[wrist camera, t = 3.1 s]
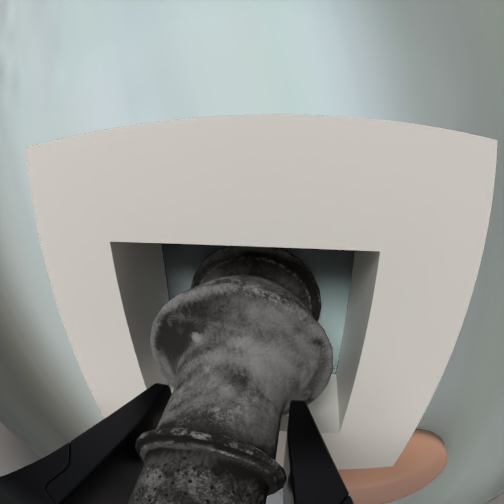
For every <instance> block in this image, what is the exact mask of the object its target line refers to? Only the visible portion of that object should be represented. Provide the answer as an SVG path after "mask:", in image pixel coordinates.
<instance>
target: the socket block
mask: <svg viewBox="0 0 504 504" xmlns="http://www.w3.org/2000/svg"><path fill="white" fill-rule="evenodd" d="M26 152H27V163H28V172H29V181H30V188H31V195H32V202H33V208H34V214H35V219H36V225H37V230H38V235H39V239H40V244H41V248H42V253H43V257H44V261H45V265H46V269H47V272H48V276H49V280H50V283H51V287H52V290H53V294H54V297H55V300H56V303H57V306H58V310H59V313H60V316H61V319H62V321H63V324H64V327H65V330H66V333H67V335H68V338H69V341H70V343H71V346H72V349H73V351H74V354H75V356H76V359H77V361H78V363H79V366H80V368H81V370H82V373H83V375H84V377H85V380H86V382H87V384H88V386H89V388H90V390H91V393H92V395H93V397H94V399H95V401H96V403H97V405H98V407H99V409H100V411H101V413H102V415H103V417H104V419H105V418H106V417H108V416H109V415H111V414H112V413H113V412H115V411H116V410H118V409H119V408H121V407H122V406H124V405H125V404H126V403H128V402H129V401H131V400H132V399H134V398H135V397H136V396H138V395H139V394H141V393H142V392H143V391H145V390H146V389H148V388H149V387H150V386H152V385H153V384H155V383H161V384H166V385H168V386H169V387H170V389H171V393H172V392H173V389H174V388H173V386H172V385H171V384H170V383H169V382H168V381H167V379H166V378H165V377H164V376H163V375H162V373H161V371H160V369H159V367H158V366H157V364H156V362H155V360H154V357H153V354H152V348H151V343H150V336H151V330H152V324H153V322H154V320H155V318H156V317H157V315H158V313H159V312H160V310H161V308H162V307H163V306H164V305H165V304H166V303H167V302H169V294H168V288H167V281H166V274H165V267H164V260H163V252H162V244H161V243H170V244H199V245H228V246H255V247H282V248H308V249H333V250H355V253H354V262H353V271H352V279H351V287H350V294H349V301H348V308H347V315H346V321H345V327H344V333H343V339H342V345H341V350H340V356H339V361H338V366H337V371H336V374H331V377H330V380H329V383H328V385H327V386H326V388H325V389H324V390H323V391H322V393H321V394H320V395H319V396H318V398H316V399H315V400H314V401H312V402H311V403H309V404H308V408H309V410H310V412H311V414H312V416H313V418H314V420H315V423H316V425H317V427H318V429H319V431H320V433H321V435H322V437H323V440H324V442H325V444H326V446H327V448H328V450H329V452H330V454H331V457H332V459H333V461H334V463H335V465H336V467H337V469H338V470H342V469H365V468H379V467H390V466H393V465H394V464H395V462H396V461H397V459H398V457H399V456H400V454H401V453H402V451H403V449H404V448H405V446H406V444H407V443H408V441H409V439H410V438H411V436H412V434H413V432H414V431H415V429H416V427H417V425H418V424H419V422H420V420H421V418H422V416H423V414H424V412H425V410H426V408H427V406H428V404H429V403H430V401H431V398H432V396H433V394H434V392H435V390H436V388H437V386H438V384H439V382H440V379H441V377H442V375H443V373H444V370H445V368H446V366H447V363H448V361H449V358H450V356H451V354H452V351H453V349H454V346H455V343H456V341H457V338H458V335H459V333H460V330H461V327H462V324H463V321H464V318H465V315H466V312H467V309H468V306H469V303H470V299H471V296H472V293H473V289H474V286H475V282H476V278H477V275H478V271H479V267H480V262H481V258H482V254H483V249H484V245H485V240H486V235H487V229H488V224H489V218H490V212H491V205H492V198H493V190H494V181H495V171H496V157H497V140H494V139H490V138H486V137H482V136H477V135H473V134H468V133H463V132H458V131H453V130H448V129H443V128H437V127H431V126H425V125H418V124H411V123H404V122H396V121H388V120H378V119H368V118H357V117H343V116H326V115H295V114H261V115H230V116H212V117H198V118H187V119H176V120H167V121H158V122H150V123H143V124H136V125H129V126H123V127H116V128H111V129H105V130H99V131H94V132H89V133H84V134H79V135H74V136H70V137H65V138H61V139H57V140H53V141H49V142H45V143H41V144H37V145H33V146H30V147H26ZM288 417H289V414H288V415H285V416H282V418H281V422H280V430H279V438H278V446H277V453H276V462H277V463H278V464H279V465H280V466H281V467H283V463H284V454H285V445H286V436H287V426H288Z"/></svg>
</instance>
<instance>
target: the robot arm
mask: <svg viewBox="0 0 504 504" xmlns="http://www.w3.org/2000/svg"><path fill="white" fill-rule="evenodd" d="M171 395H172V393H171V389H170V387H169V386H168V385H166V384H161V383H155V384H153V385H152V386H150V387H149V388H148V389H146V390H145V391H143V392H142V393H141V394H139V395H138V396H136V397H135V398H134V399H132V400H131V401H129V402H128V403H126V404H125V405H124V406H122V407H121V408H119V409H118V410H116V411H115V412H113V413H112V414H111V415H109V416H108V417H106V418H105V419H103V420H102V421H100V422H99V423H97V424H96V425H94V426H93V427H91V428H90V429H88V430H87V431H85V432H84V433H82V434H81V435H79V436H78V437H76V438H75V439H73V440H72V441H71V443H67V444H66V445H64V446H63V447H61V448H59V449H58V450H56V451H54V452H53V453H51V454H49V455H48V456H46V457H44V458H42V459H40V460H38V461H36V462H34V463H32V464H30V465H27V466H25V467H23V468H21V469H19V470H17V471H15V472H12V473H10V474H7V475H5V476H1V477H0V504H128V501H129V499H130V497H131V494H132V492H133V490H134V487H135V485H136V483H137V480H138V478H139V476H140V473H141V471H142V469H143V466H144V462H143V461H142V460H141V459H140V457H139V455H138V453H137V451H136V449H135V446H136V440H137V438H138V437H139V436H140V435H141V434H143V433H144V432H148V431H151V430H155V429H156V428H157V426H158V424H159V421H160V419H161V417H162V415H163V413H164V410H165V408H166V406H167V404H168V401H169V399H170V397H171ZM283 468H284V470H285V473H286V476H287V480H286V482H285V485H284V487H283V498H284V504H354V502H353V500H352V498H351V496H348V495H349V492H348V490H347V488H346V486H345V484H344V482H343V480H342V478H341V475H340V473H339V471H338V469H337V467H336V465H335V463H334V461H333V459H332V457H331V454H330V452H329V450H328V448H327V446H326V444H325V442H324V440H323V437H322V435H321V433H320V431H319V429H318V427H317V425H316V423H315V420H314V418H313V416H312V414H311V412H310V410H309V408H308V405H307V403H306V402H305V401H304V400H291V401H290V407H289V417H288V426H287V436H286V445H285V454H284V463H283Z"/></svg>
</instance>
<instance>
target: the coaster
mask: <svg viewBox="0 0 504 504" xmlns="http://www.w3.org/2000/svg"><path fill="white" fill-rule="evenodd" d="M446 462H447V453H446V450H445V446H444V443H443V441H442V439H441V438H440V437H439V436H437V435H436V434H434V433H432V432H429V431H425V430H420V429H415V431H414V432H413V434H412V436H411V438H410V439H409V441H408V443H407V444H406V446H405V448H404V449H403V451H402V453H401V454H400V456H399V457H398V459H397V461H396V462H395V464H394V465H393V466H390V467H379V468H365V469H342V470H338V471H339V473H340V475H341V478H342V480H343V482H344V484H345V486H346V488H347V490H348V492H349V495H348V496H351V498H352V500H353V502H354V504H384V503H388V502H391V501H394V500H397V499H400V498H403V497H405V496H407V495H409V494H412V493H414V492H416V491H417V490H419V489H421V488H423V487H424V486H426V485H427V484H429V483H430V482H431V481H432V480H434V479H435V478H436V477H437V476H438V475H439V474H440V473H441V471H442V470H443V469H444V467H445V465H446Z"/></svg>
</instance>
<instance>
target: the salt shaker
mask: <svg viewBox="0 0 504 504" xmlns="http://www.w3.org/2000/svg"><path fill="white" fill-rule="evenodd" d="M320 309H321V300H320V291H319V288H318V285H317V283H316V281H315V279H314V276H313V275H312V273H311V272H310V271H309V270H308V269H307V267H306V266H305V265H304V264H303V263H302V262H301V261H300V260H298V259H297V258H295V257H294V256H293V255H291V254H290V253H288V252H287V251H284V250H282V249H279V248H276V247H255V246H227V247H225V248H223V249H220V250H218V251H216V252H214V253H213V254H212V255H211V256H209V257H208V258H207V259H206V260H204V261H203V263H202V264H201V266H200V267H199V269H198V270H197V272H196V273H195V275H194V278H193V282H192V285H191V289H189V290H187V291H184V292H181V293H179V294H178V295H176V296H175V297H174V298H172V299H171V300H170V301H169V302H167V303H166V304H165V305H164V306H163V307H162V308H161V310H160V312H159V313H158V315H157V317H156V318H155V320H154V322H153V324H152V330H151V336H150V343H151V348H152V354H153V357H154V360H155V362H156V364H157V366H158V367H159V369H160V371H161V373H162V375H163V376H164V377H165V378H166V379H167V381H168V382H169V383H170V384H171V385H172V386H173V388H174V389H173V392H172V395H171V397H170V399H169V401H168V404H167V406H166V408H165V410H164V413H163V415H162V417H161V419H160V421H159V424H158V426H157V428H156V429H155V430H151V431H148V432H144V433H143V434H141V435H140V436H139V437H138V438H137V440H136V446H135V449H136V451H137V453H138V455H139V457H140V459H141V460H142V461H143V462H144V466H143V469H142V471H141V473H140V476H139V478H138V480H137V483H136V485H135V487H134V490H133V492H132V494H131V497H130V499H129V501H128V504H266V498H267V496H268V495H271V494H274V493H276V492H277V491H278V490H280V489H281V488H283V487H284V485H285V482H286V480H287V476H286V473H285V470H284V468H283V467H281V466H280V465H279V464H278V463H277V462H276V453H277V446H278V438H279V430H280V422H281V418H282V416H285V415H288V414H289V407H290V401H291V400H304V401H305V402H306V403H307V405H308V404H309V403H311V402H312V401H314V400H315V399H316V398H318V396H319V395H320V394H321V393H322V391H323V390H324V389H325V388H326V386H327V385H328V383H329V380H330V377H331V374H332V371H333V354H332V347H331V344H330V342H329V340H328V338H327V335H326V333H325V331H324V329H323V328H322V327H321V326H320V325H319V323H318V322H317V321H318V318H319V314H320Z"/></svg>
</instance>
